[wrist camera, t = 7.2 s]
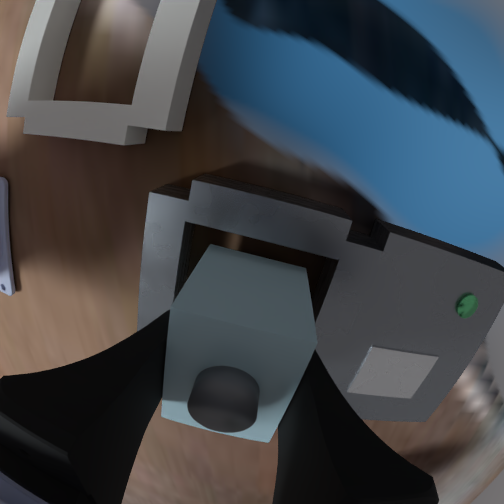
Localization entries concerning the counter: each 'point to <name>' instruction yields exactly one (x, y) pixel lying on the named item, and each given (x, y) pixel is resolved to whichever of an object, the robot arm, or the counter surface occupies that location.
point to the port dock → (343, 289)
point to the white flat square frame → (109, 114)
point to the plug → (237, 344)
